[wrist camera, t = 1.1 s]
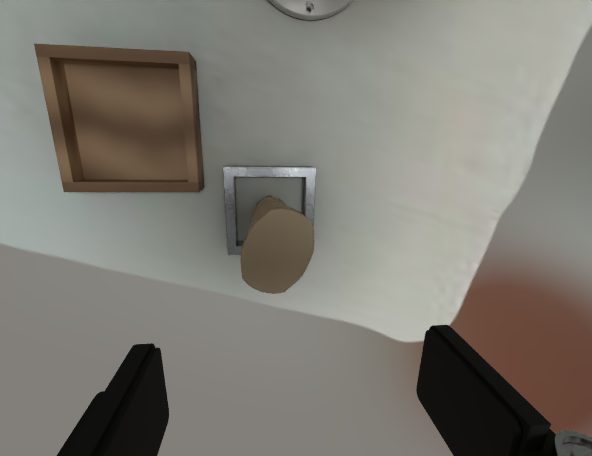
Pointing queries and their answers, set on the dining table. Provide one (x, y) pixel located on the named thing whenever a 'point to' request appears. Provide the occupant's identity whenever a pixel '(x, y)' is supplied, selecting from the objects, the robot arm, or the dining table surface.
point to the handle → (276, 247)
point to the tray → (123, 118)
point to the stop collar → (263, 171)
